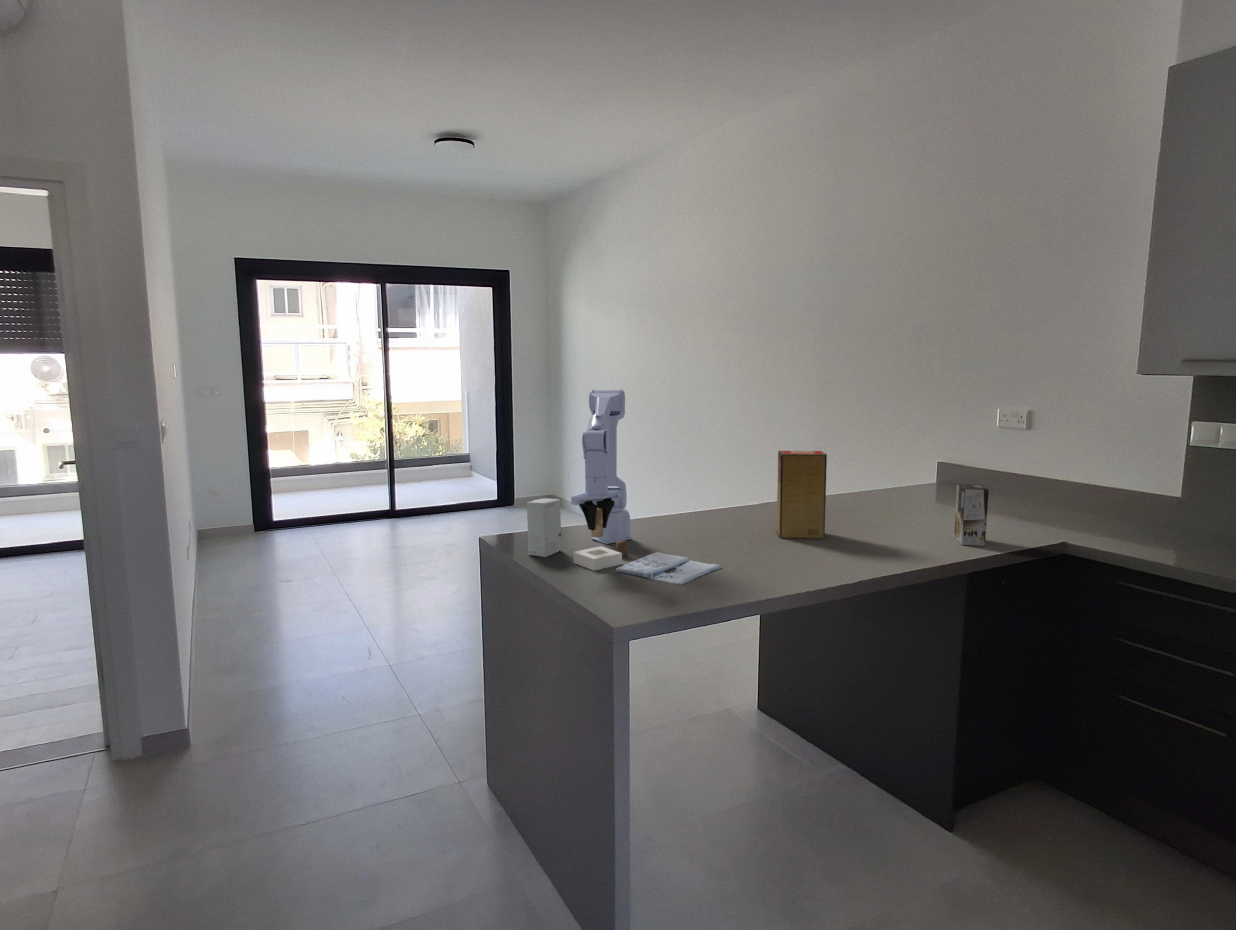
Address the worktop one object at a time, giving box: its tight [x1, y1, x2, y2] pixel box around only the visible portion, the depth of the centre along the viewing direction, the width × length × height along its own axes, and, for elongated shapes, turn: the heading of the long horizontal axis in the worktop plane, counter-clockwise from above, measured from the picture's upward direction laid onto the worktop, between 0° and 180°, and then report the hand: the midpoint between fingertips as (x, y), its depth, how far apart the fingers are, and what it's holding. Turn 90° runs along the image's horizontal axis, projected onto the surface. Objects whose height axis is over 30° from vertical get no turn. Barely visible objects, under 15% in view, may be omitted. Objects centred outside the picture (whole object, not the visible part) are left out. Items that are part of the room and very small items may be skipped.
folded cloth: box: [615, 551, 721, 586], centre depth 186 cm, size 19×20×2 cm
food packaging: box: [775, 450, 828, 540], centre depth 219 cm, size 13×9×25 cm
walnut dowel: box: [615, 540, 628, 558], centre depth 200 cm, size 3×3×4 cm
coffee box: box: [953, 483, 990, 547], centre depth 209 cm, size 9×6×16 cm
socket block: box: [573, 545, 623, 572], centre depth 192 cm, size 9×9×3 cm
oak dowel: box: [590, 508, 603, 538], centre depth 191 cm, size 3×3×7 cm
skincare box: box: [526, 497, 562, 558], centre depth 203 cm, size 8×6×15 cm
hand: (597, 528), depth 191 cm, fingers closed on oak dowel, 3 cm apart
